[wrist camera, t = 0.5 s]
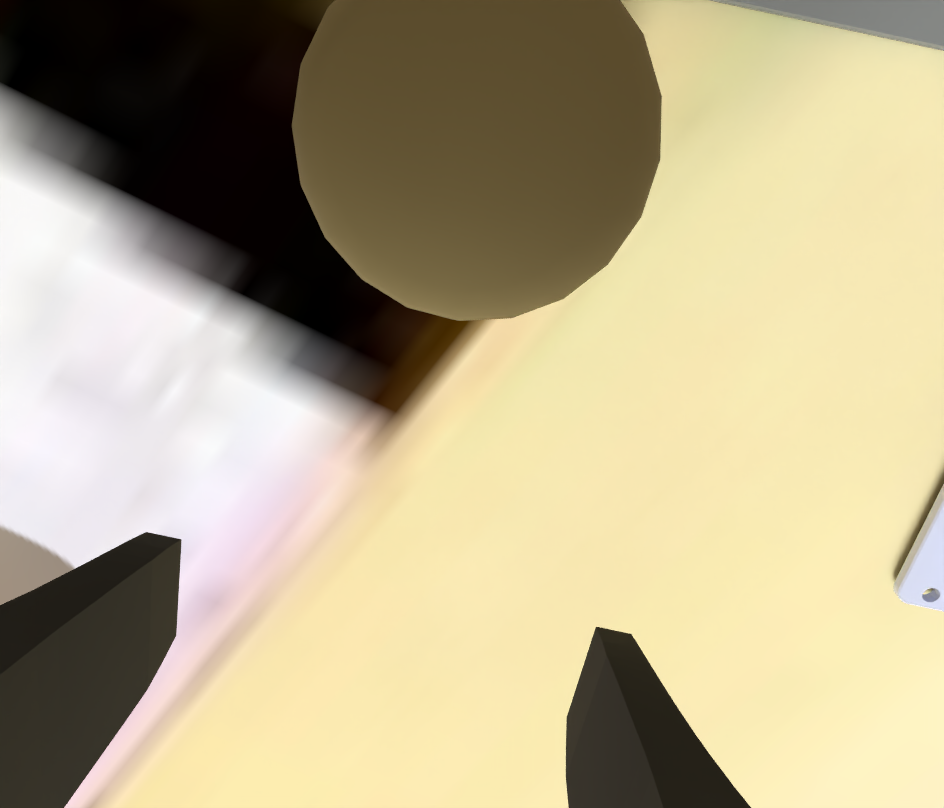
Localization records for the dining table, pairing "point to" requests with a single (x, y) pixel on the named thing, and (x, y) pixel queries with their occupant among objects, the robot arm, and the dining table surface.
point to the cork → (477, 146)
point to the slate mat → (865, 16)
